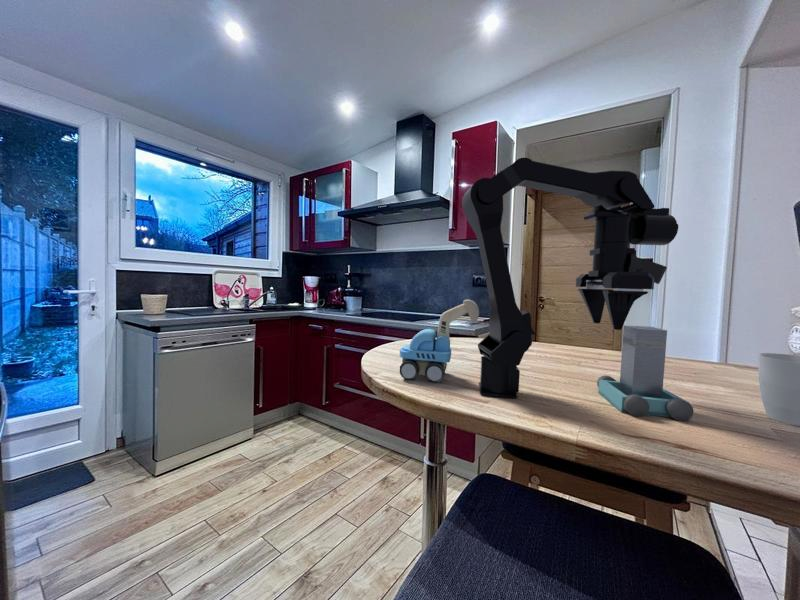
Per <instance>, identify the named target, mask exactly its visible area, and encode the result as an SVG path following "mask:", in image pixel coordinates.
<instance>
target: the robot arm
mask: <svg viewBox="0 0 800 600" xmlns="http://www.w3.org/2000/svg"><path fill="white" fill-rule="evenodd" d="M516 187H524V188H527V189H533V190H538V191H544V192H549V193H554V194H558V195H563V196H568V197H573V198H577V199H578V200H581V202H582V203H583V204H584V205H586V206H588V207H592V210H590V212H589V213H587V214H586V215H584V217H583V220H584V221H594V237H593V239H594V240H593V249H591V250H589V256H591V257H593V258H592V269H591V270H588V273H581V274H580V275H578V276H577V277H576V278H575V287H577V291H578V292H579V293H580V295H581V297H582V299H583V302H584V304H585V306H586V308H587V311H588V313H589V316H590V317H591V319H592V322H593V323H594V324H600V323H601V320H602V318H603V312H604V308H605V304H606V309H607V311H608V316H609V318H610V319H609V320H610V322H611V325H612V328H613V330H615V331H621V330H623V328H624V325H625V322H626V321H627V318H628V316H629V314H630V311H631V309H632V307H633V305H634V303H635V302H636V300H638V299H640V298H641V297H642V296H644V295H647V294H648V293H649V291H648V290H654V289H655V284H657V285H659V284H660V283H661V281H662V279H663V277H664V275H665V273H666V271H667V269H668V267H667V266H665V265H663V264H661V263H657V262H653V261H652V260H648V259H645V258H640V257H638V256H637V250H636V248H635V247H631V245H639V246H642V245H643V246H666V245H668V244H670V243H672V242H673V240H674V239H675V238H676V237H677V235H678V231H679V224H678V221H677V219H676V218H675V217H674V216H673V215H671V214H670V207H669V208H668V207H661V208H655V204H654V202H653V201H652V199H651V198H650V196H649V195H648V193H647V192H646V189H645V188H644V186H643V185H642V183H641V182H640V180H639V178H638V174H636V173H635V172H633V171H629V170H606V171H600V172H599V171H597V172H589V171H584V170H580V169H575V168H569V167H564V166H560V165H555V164H550V163H545V162H541V161H535V160H532V159H531V158H528V157H520V158H517V159H516V160H515V161H514V162H513V163H512V164H510V165H508V166H507V167H505V168H503V169H501V170H500V171H499V172H497V173H496V174H495V175H494V176H492V177H490V178H489V177H482V178H479V179H477V180H476V181H475V182H474V183H473V184H472V185H471V186H470V187H469V188H468V189H467V191H465V193H464V195H463V196H462V198H461V207H462V210H463V212H464V215H465V218H466V219H467V222H468V224H469V226H470V228H471V229H472V231H473V232H474V234H475V235H476V239H477V245H478V249H479V254H480V259H481V264H482V268H483V273H484V274H483V275H484V277H485V283H486V288H487V293H488V298H489V303H490V313H489V320H488V327H489V328H488V329H489V330H488V332H489V333H488V334H487V335H486V336H485V337H484V338H483V339H482V340H481V341H480V342H479V343H478V344H477V348H478V350H479V354H480V355H481V356H480V375H479V376H480V378H479V379H480V380H479V383H478V387H479V388H478V389H479V395H481V396H489V397H490V396H491V397H500V398H510V399H512V398H513V399H517V398H518V394H517V393H519V392H520V372H521V371H520V369H519V367H518V366H520V365H521V362H522V361H523V360H522V359H523V358H524V355H525V353H526V352H527V351H528V350H529V349H530V347H531V346H533V336H535V335H536V332H535V331H534V329H533V326H532V316H531V313H530V312H528V311H524V310H521V309H520V308H519V307H518V304H517V302H516V298H515V297H516V296H515V293H514V289H513V287H514V286H513V283H512V278H511V273H510V268H509V263H508V258H507V254H506V248H505V244H504V238H503V233H502V220H503V214H504V196H505V194H508V193H509V192H510V191H512V190H513V189H514V188H516ZM621 206H622V207H621ZM645 290H647V291H645ZM532 335H533V336H532Z"/></svg>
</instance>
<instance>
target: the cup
mask: <svg viewBox="0 0 800 600" xmlns="http://www.w3.org/2000/svg"><path fill="white" fill-rule="evenodd" d="M757 356H758V359H757V360H758V361H757V362H758V364H757V365H758V373H757V374H758V379H757V380H758V384H759V391H760V392H759V393H760V397H761V401H762V405H763V409H764V410H765V413H766V416H767V417H768V418H769V417H770V418H769V419H771V420H774V421H777V422H780V423H783V424H786V425H791V426H795V427H800V355H795V354H787V353H774V352H773V353H770V352H760V353H758V355H757Z"/></svg>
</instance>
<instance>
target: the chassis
mask: <svg viewBox="0 0 800 600" xmlns="http://www.w3.org/2000/svg"><path fill="white" fill-rule="evenodd" d="M596 385H597V388H598V389H597V390H598V392H597V393H598V394H599V395H600V396H601V397H602V398H604V399H605V400H606V401H607V402H609V403H610V405H612V406H613V407H614V408H615V409H617V410H618V411H619V412H620V413H626V414H630V415H632V416H634V417H637V418H638V417H643V416H645V415H646V416H656V417H657V416H658V417H666V418H667V417H668V418H673V419H674V420H676V421H680V422H685V421H688V420H690V419H692V417H693V415H694V408H693V405H692V404H691V403H690V402H689V401H687V400H685V399H683V398H682V397H680V396H678V395H676V394H674V393H673V392H671V391H669V390H667V389H665V388H663V392H662V398H651V397H641V396H639V395H636V394H632V395H629V396H628V395H625V394H624V393H622V392H621V391H619V387H620V380H616V379H615V378H613V377H612V376H610V375H606V374H605V375H601V376H600V377H598V379H597V382H596Z"/></svg>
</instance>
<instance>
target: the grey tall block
mask: <svg viewBox="0 0 800 600" xmlns="http://www.w3.org/2000/svg"><path fill="white" fill-rule="evenodd" d="M622 330H623V331H622V346H621V359H620V375H619V376H620V377H619V381H620V387H619V391H621V392H622V393H624V394H625V395H628V396H629V395H632V394H636V395H639V396H641V397H651V398H662V392H663V389H664V378H665V377H664V376H665V364H666V351H667V336H668V330H665V329H662V328H660V327H659V328H658V327H654V326H645V325H644V326H642V325H641V326H639V325H625V324H624V325H623V327H622Z"/></svg>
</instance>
